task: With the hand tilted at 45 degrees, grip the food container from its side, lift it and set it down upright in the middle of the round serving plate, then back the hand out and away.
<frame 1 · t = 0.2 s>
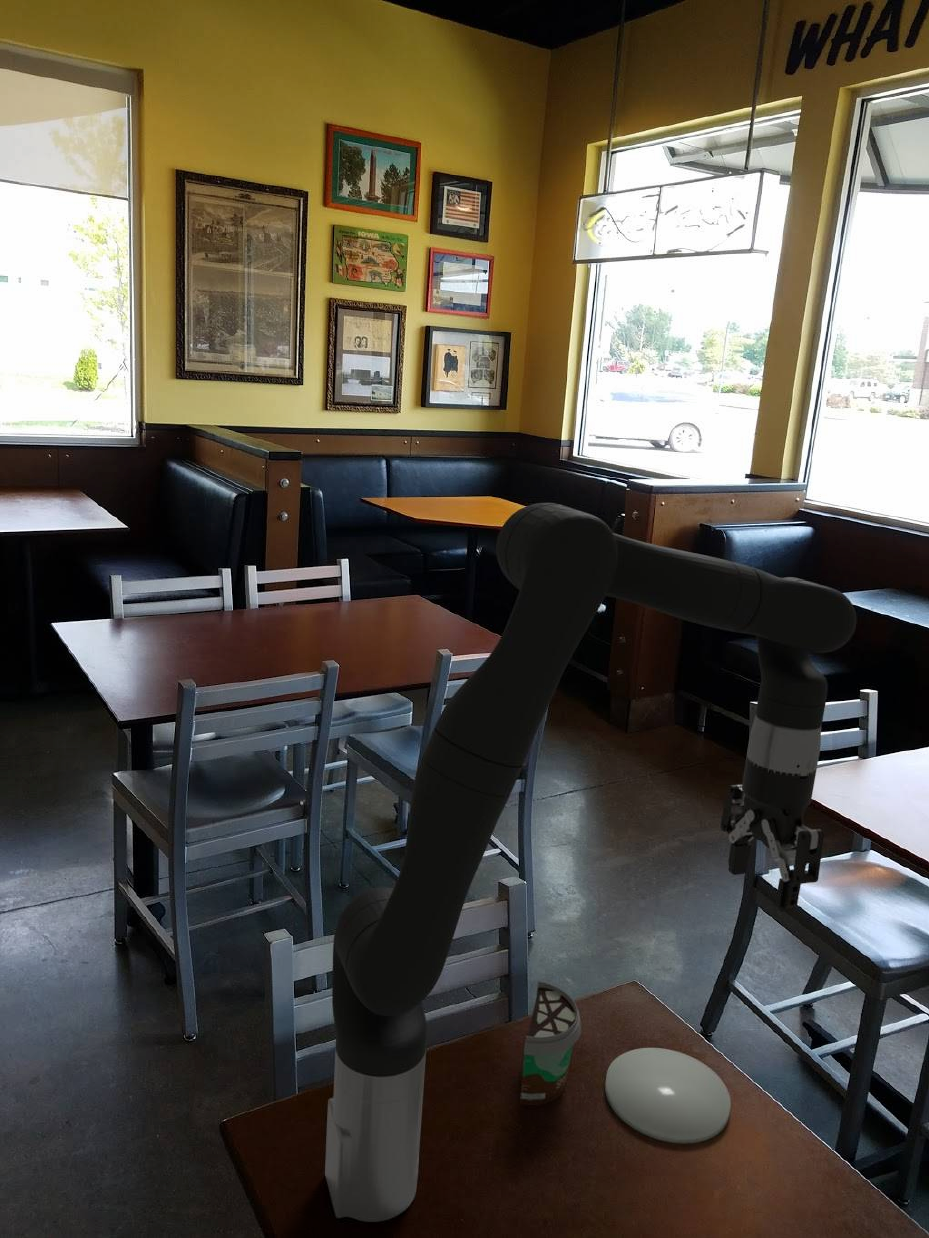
hand: (760, 890, 112), 29 cm above the table, tool pointing down, fingers open, 8 cm apart
food container: (549, 1083, 121), on the table
serving plate: (666, 1096, 119), on the table
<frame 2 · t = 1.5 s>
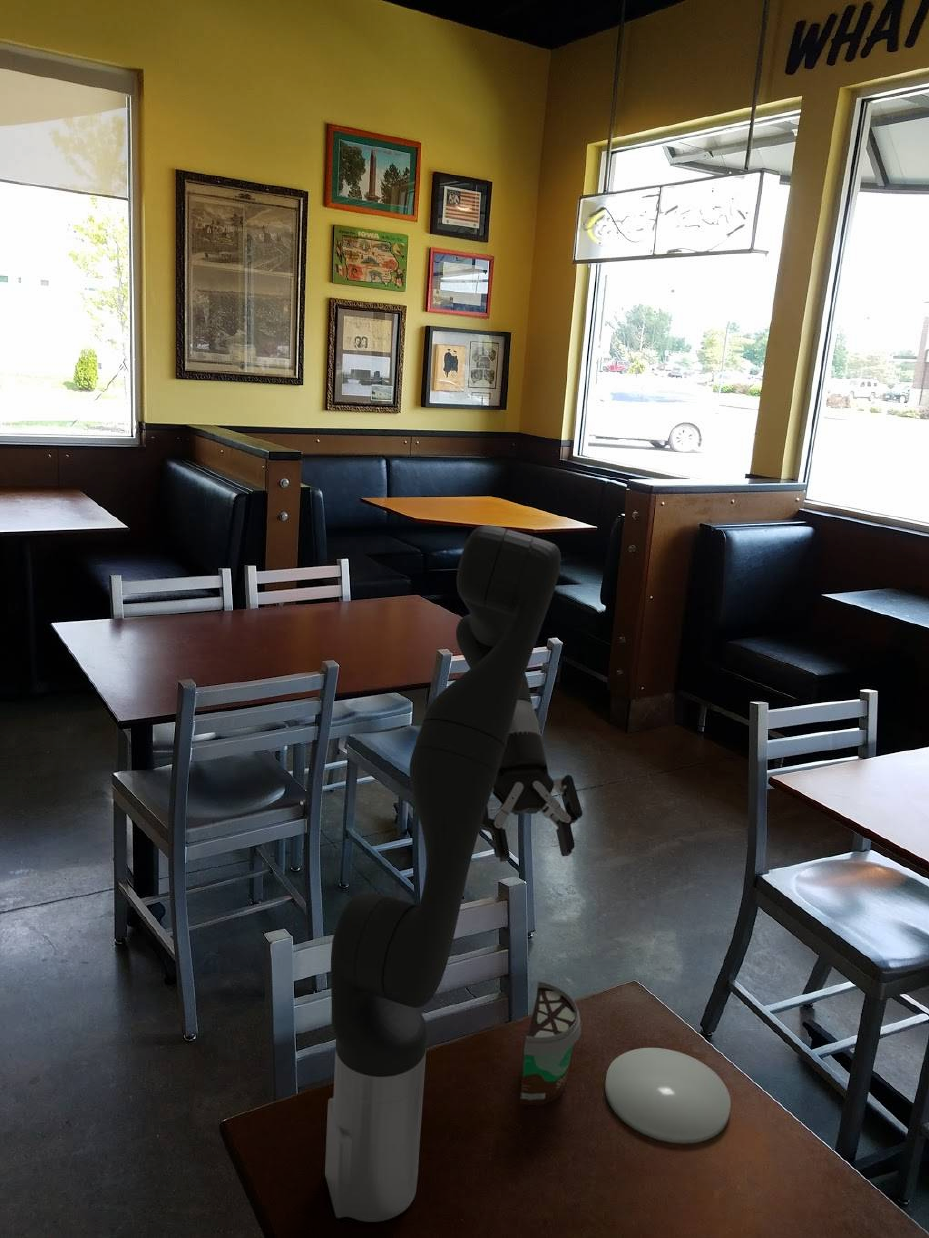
hand: (536, 857, 125), 25 cm above the table, tool tilted 45°, fingers open, 8 cm apart
nothing on the table moved.
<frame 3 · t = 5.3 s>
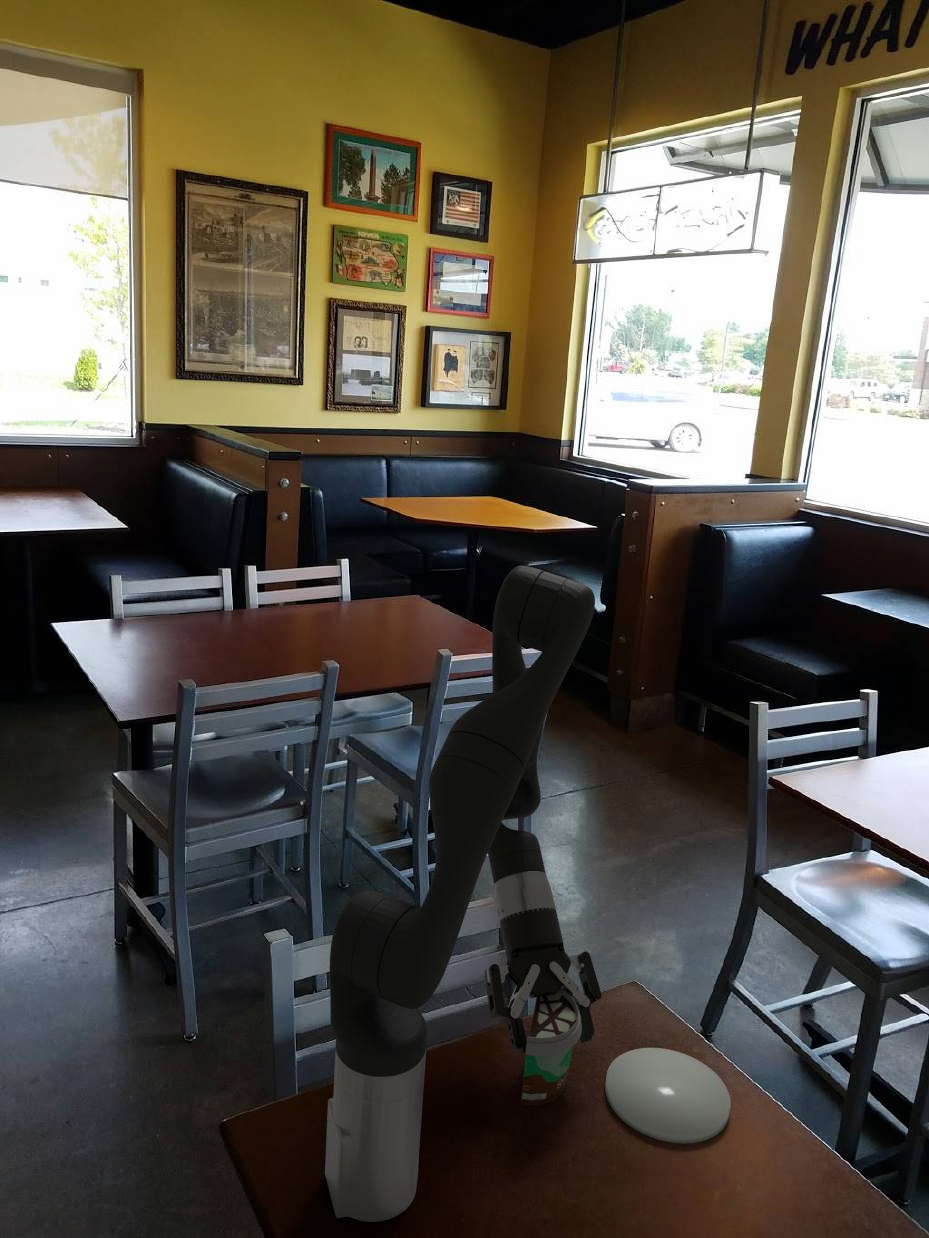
hand: (555, 1047, 118), 6 cm above the table, tool tilted 45°, fingers open, 8 cm apart
food container: (550, 1083, 121), on the table, touching gripper
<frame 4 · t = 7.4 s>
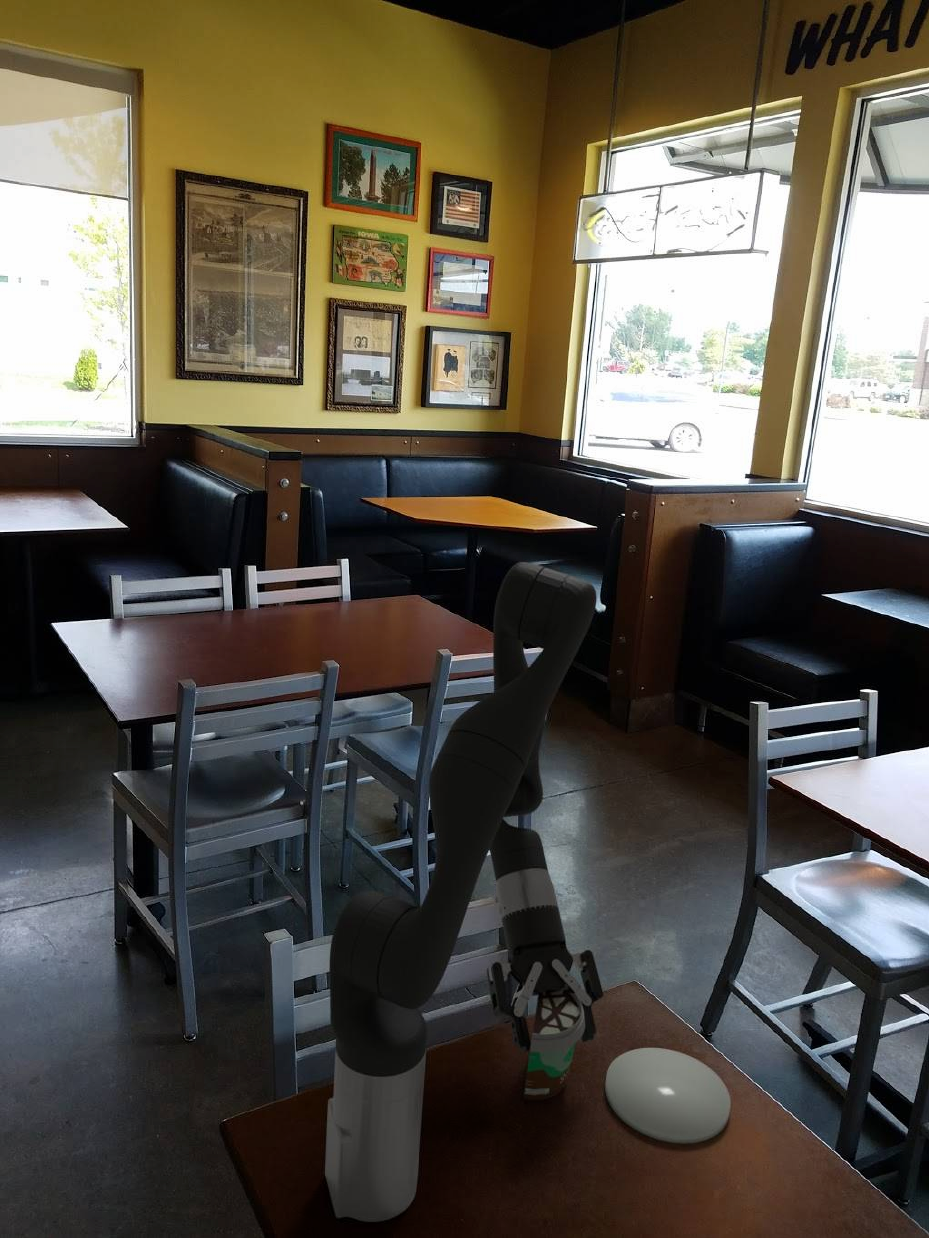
hand: (557, 1045, 118), 6 cm above the table, tool tilted 45°, fingers closed on food container, 8 cm apart
food container: (552, 1077, 120), point 1 cm above the table, touching gripper
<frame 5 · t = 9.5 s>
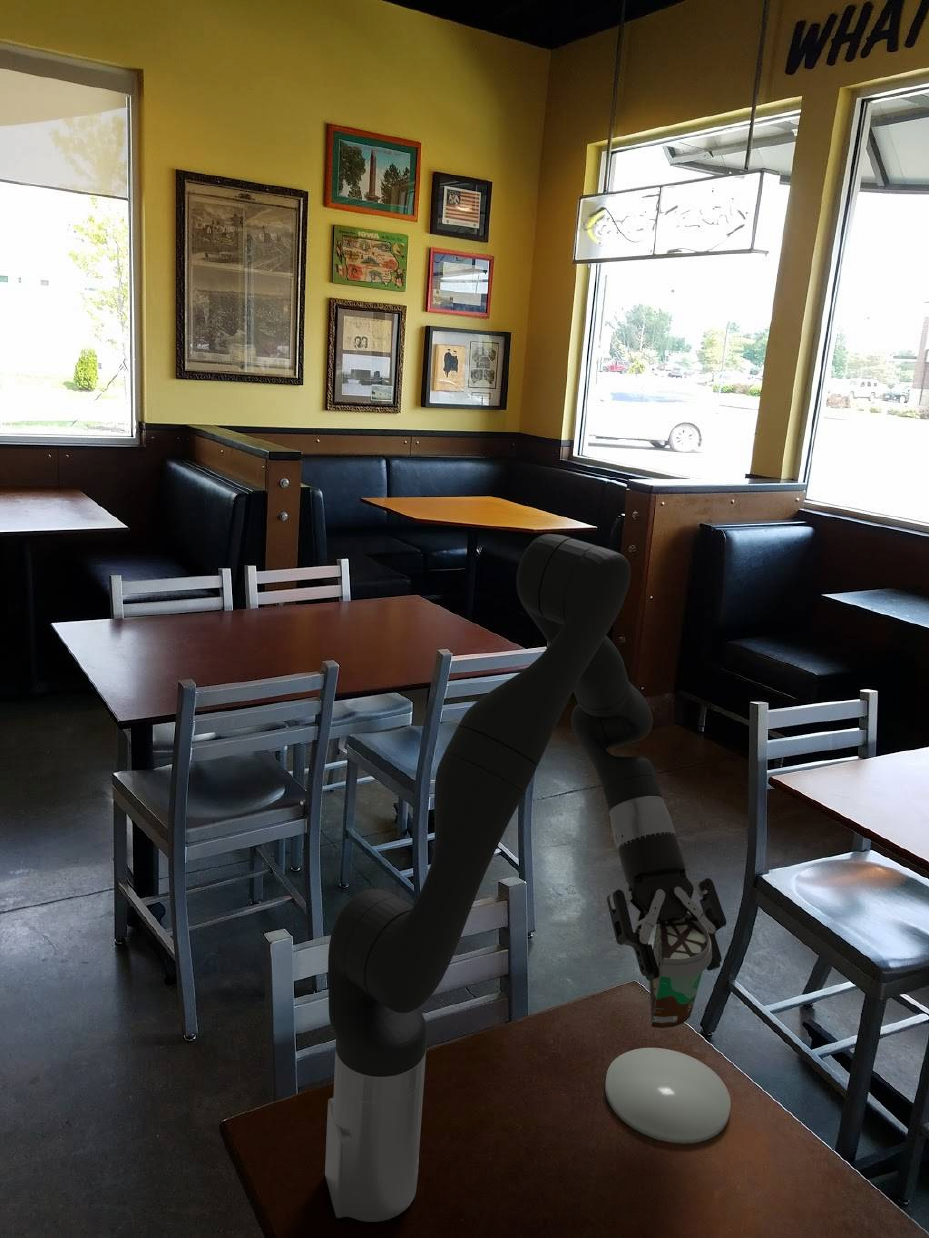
hand: (684, 973, 115), 18 cm above the table, tool tilted 45°, fingers closed on food container, 8 cm apart
food container: (675, 1006, 117), point 12 cm above the table, touching gripper
when the fingers open (8 cm above the table, at t = 12.5 s): food container drops 1 cm, resting on serving plate.
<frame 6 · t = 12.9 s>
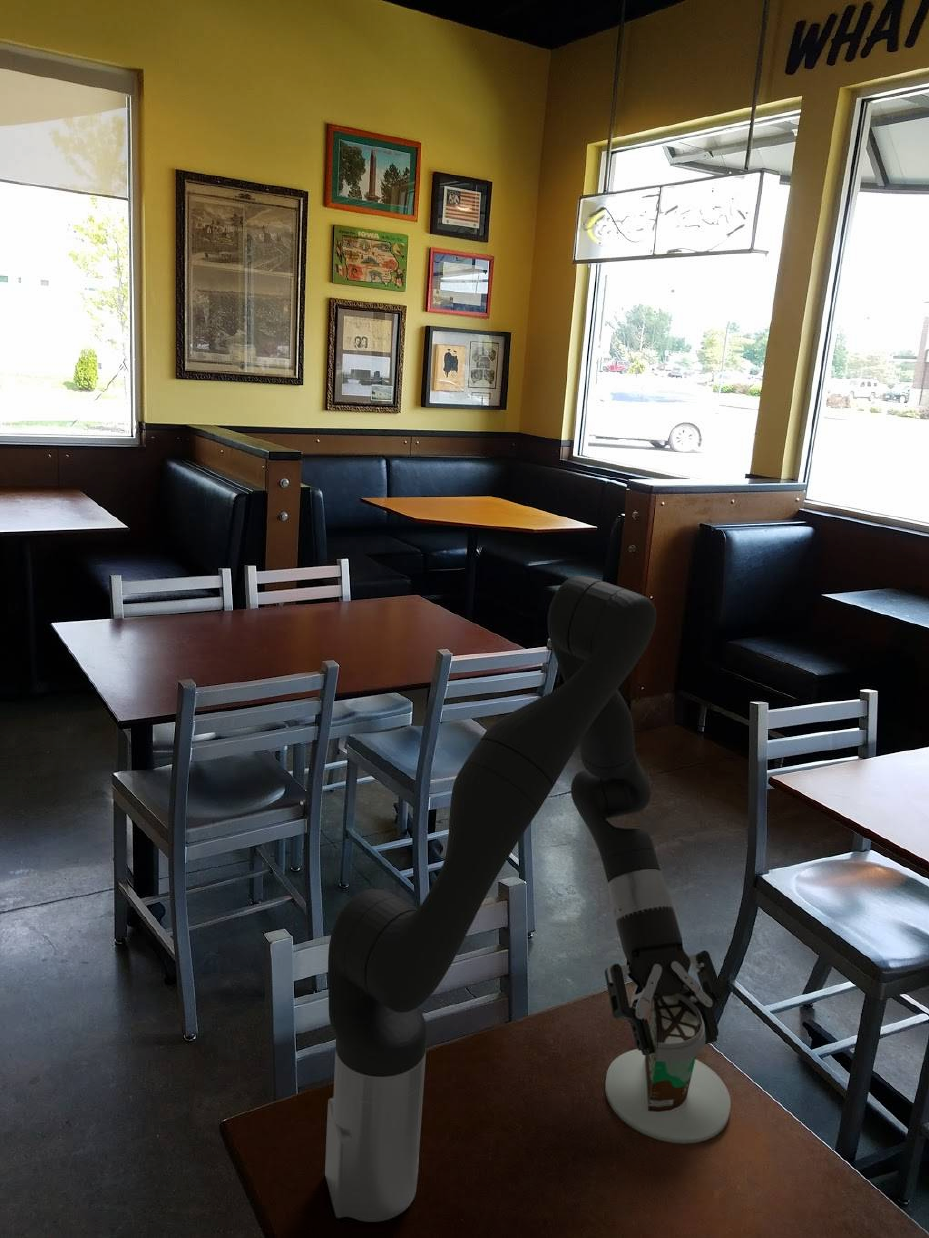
hand: (680, 1048, 116), 8 cm above the table, tool tilted 45°, fingers open, 8 cm apart
food container: (671, 1089, 119), point 1 cm above the table, touching serving plate
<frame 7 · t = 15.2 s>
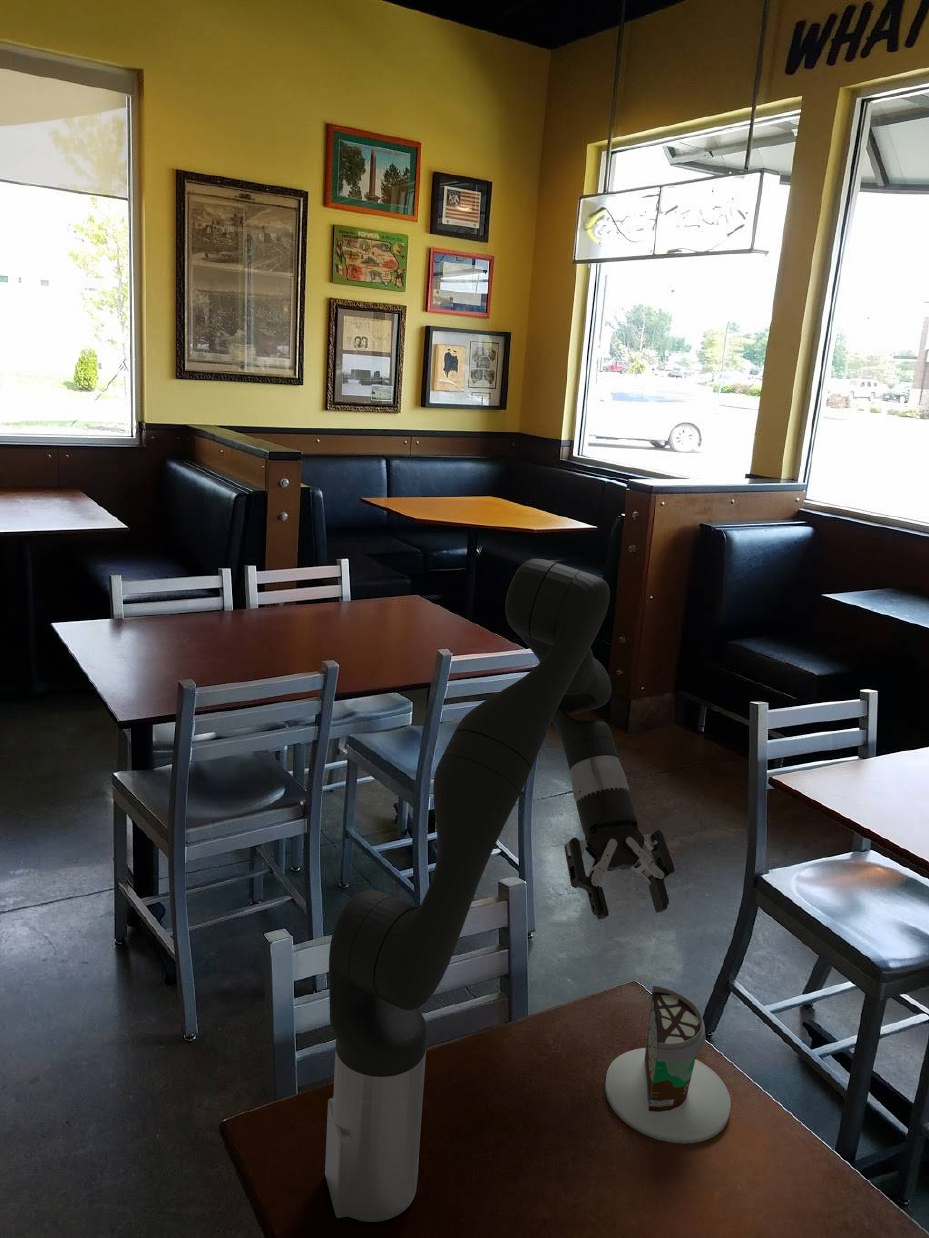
hand: (633, 914, 126), 18 cm above the table, tool tilted 45°, fingers open, 8 cm apart
nothing on the table moved.
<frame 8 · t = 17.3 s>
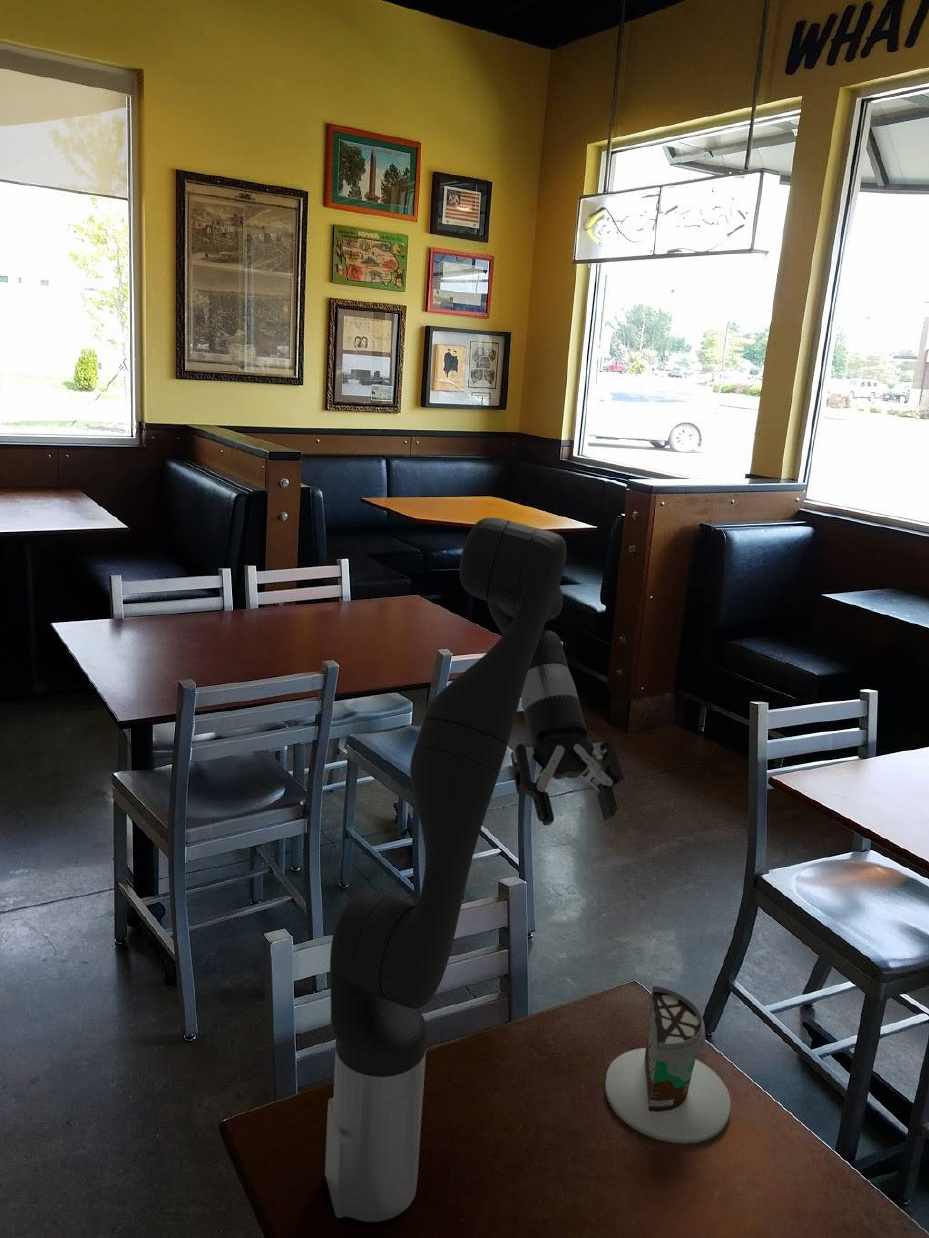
hand: (580, 820, 123), 31 cm above the table, tool tilted 45°, fingers open, 8 cm apart
nothing on the table moved.
at the end: food container inside the target area on the serving plate (0.6 cm from its centre), point 1.0 cm above the serving plate's base; food container tilted 0°; the gripper is holding nothing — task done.
